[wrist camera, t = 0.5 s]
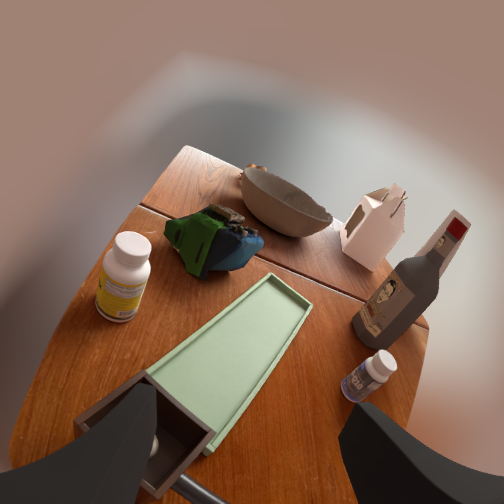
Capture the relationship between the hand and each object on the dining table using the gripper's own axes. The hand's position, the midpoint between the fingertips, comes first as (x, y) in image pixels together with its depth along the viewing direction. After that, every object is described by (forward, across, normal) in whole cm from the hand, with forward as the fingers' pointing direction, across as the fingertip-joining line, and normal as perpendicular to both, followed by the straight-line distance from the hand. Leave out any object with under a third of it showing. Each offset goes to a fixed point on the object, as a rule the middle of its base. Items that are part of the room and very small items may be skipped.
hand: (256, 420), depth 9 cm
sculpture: (+41, +6, +6) cm, 42 cm away
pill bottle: (+26, -20, +20) cm, 38 cm away
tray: (+28, -3, +13) cm, 31 cm away
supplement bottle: (+23, +14, +9) cm, 29 cm away
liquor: (+43, -30, +18) cm, 55 cm away
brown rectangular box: (+5, +4, +14) cm, 15 cm away
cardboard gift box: (+89, -44, +8) cm, 100 cm away
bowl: (+75, -10, +1) cm, 75 cm away
